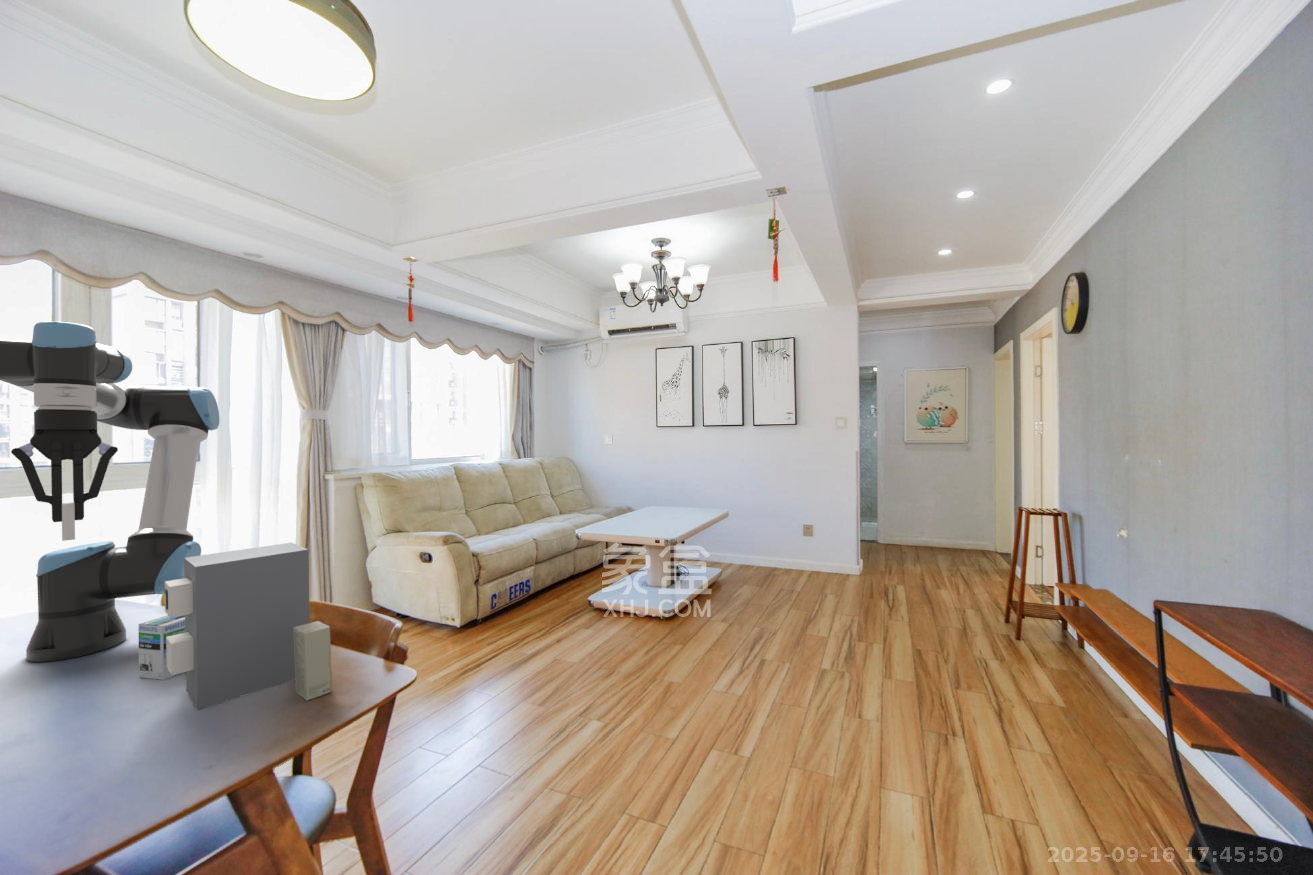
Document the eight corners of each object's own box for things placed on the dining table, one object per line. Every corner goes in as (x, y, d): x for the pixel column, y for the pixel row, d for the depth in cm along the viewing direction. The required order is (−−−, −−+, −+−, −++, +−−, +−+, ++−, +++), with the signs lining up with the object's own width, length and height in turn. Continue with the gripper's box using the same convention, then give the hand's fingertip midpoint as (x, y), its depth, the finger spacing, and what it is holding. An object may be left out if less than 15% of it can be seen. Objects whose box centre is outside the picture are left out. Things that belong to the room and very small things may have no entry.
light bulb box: (163, 680, 101) (162, 626, 101) (136, 678, 103) (135, 623, 102) (219, 657, 112) (218, 607, 112) (194, 655, 113) (193, 606, 113)
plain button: (166, 666, 93) (166, 636, 93) (210, 655, 98) (209, 627, 98) (171, 675, 89) (171, 644, 89) (216, 663, 94) (215, 633, 94)
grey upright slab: (186, 690, 97) (184, 557, 97) (293, 659, 110) (291, 542, 110) (197, 709, 90) (195, 566, 90) (310, 674, 103) (308, 549, 103)
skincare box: (333, 692, 96) (332, 626, 96) (305, 702, 92) (304, 634, 92) (320, 682, 100) (319, 619, 100) (293, 691, 96) (292, 626, 96)
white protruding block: (163, 611, 93) (163, 581, 93) (208, 602, 97) (208, 574, 97) (168, 618, 89) (167, 587, 89) (215, 608, 94) (214, 579, 94)
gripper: (7, 406, 86) (10, 548, 86) (120, 409, 96) (122, 535, 96) (9, 408, 91) (11, 542, 91) (116, 410, 101) (118, 531, 101)
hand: (68, 539), depth 94 cm, fingers closed
